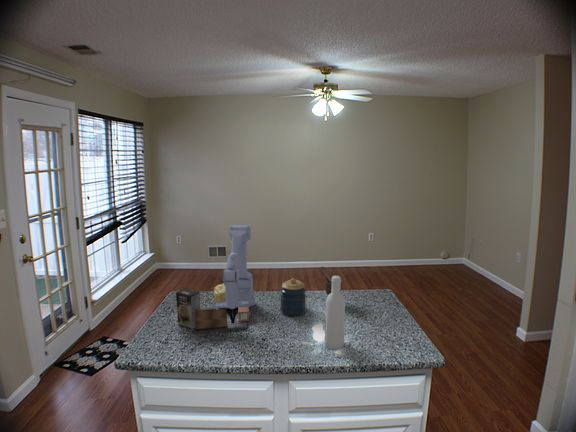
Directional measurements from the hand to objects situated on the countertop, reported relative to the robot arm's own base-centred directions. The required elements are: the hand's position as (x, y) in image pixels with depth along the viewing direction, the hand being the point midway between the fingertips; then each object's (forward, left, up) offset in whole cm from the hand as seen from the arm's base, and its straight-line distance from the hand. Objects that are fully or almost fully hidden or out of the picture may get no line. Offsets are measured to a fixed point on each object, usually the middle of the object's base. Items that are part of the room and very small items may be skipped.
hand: (232, 322), depth 155 cm
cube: (-9, -3, -3) cm, 10 cm away
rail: (+4, -4, -3) cm, 6 cm away
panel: (+7, -6, -1) cm, 10 cm away
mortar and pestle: (-50, +21, -3) cm, 54 cm away
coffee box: (+10, -19, -3) cm, 22 cm away
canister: (-31, +11, -3) cm, 33 cm away
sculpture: (-15, -23, -3) cm, 27 cm away
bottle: (-18, +43, -3) cm, 47 cm away
